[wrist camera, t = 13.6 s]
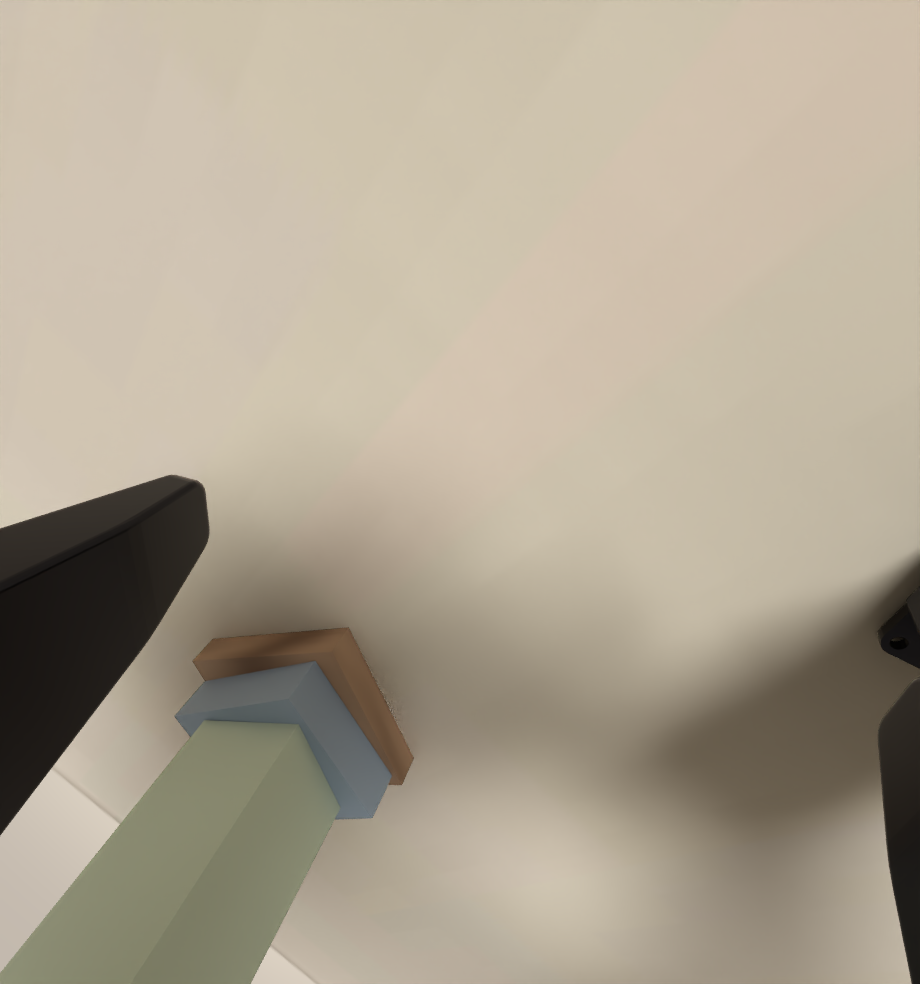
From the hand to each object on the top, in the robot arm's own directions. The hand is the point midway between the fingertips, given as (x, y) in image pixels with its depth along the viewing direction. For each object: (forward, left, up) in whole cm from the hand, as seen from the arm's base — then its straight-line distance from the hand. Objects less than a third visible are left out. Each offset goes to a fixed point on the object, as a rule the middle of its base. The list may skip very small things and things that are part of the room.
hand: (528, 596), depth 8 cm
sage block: (+5, +23, -9) cm, 25 cm away
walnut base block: (+5, +23, -14) cm, 27 cm away
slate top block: (+5, +23, -11) cm, 26 cm away
